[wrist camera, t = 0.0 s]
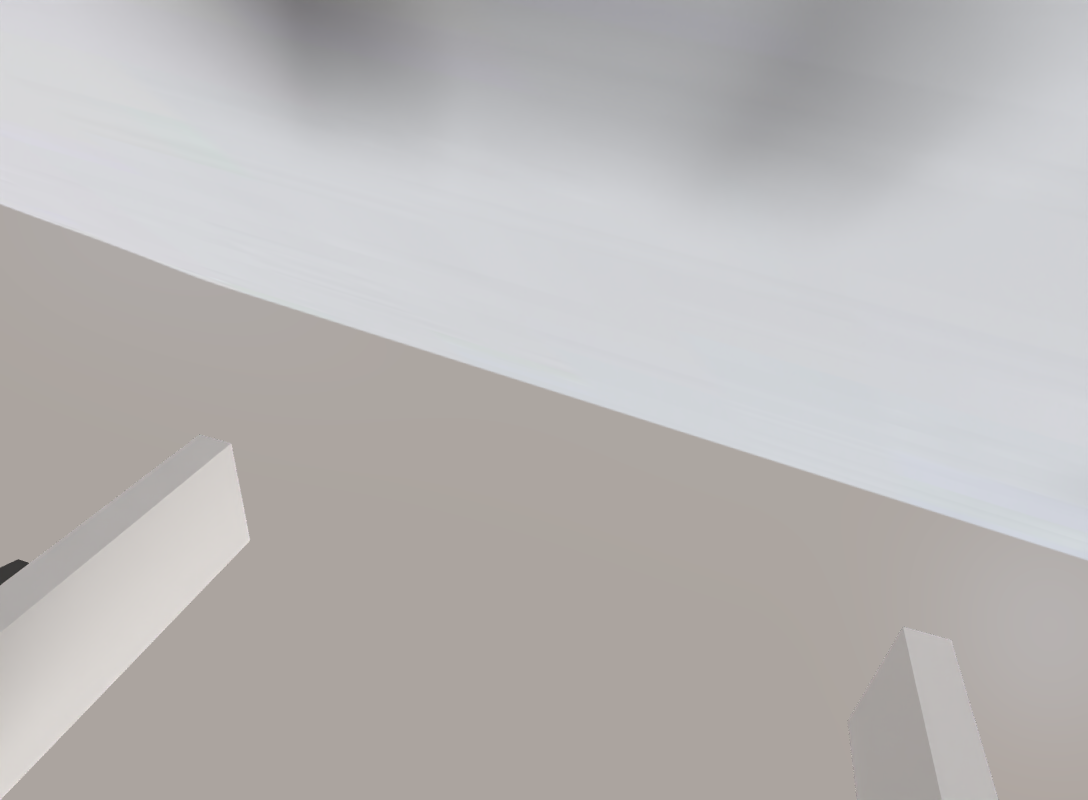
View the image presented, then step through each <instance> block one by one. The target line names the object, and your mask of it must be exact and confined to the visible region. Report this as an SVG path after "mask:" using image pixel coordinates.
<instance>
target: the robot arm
mask: <svg viewBox="0 0 1088 800" xmlns="http://www.w3.org/2000/svg"><path fill="white" fill-rule="evenodd" d="M249 541H250V537H249V533H248V527H247V522H246V517H245V511H244V506H243V501H242V496H241V491H240V486H239V481H238V475H237V470H236V466H235V460H234V455H233V450H232V445H231V443H229V442H225V441H221V440H218V439H214V438H210V437H207V436H203V435H198V436H197V437H195V438H194V439H193V440H191V441H190V442H189V443H187V444H186V445H185V446H183V447H182V448H181V449H180V450H178V451H177V452H176V453H174V454H173V455H172V456H170V457H169V458H168V459H166V460H165V461H164V462H162V463H161V464H160V465H158V466H157V467H156V468H154V469H153V470H152V471H150V472H149V473H148V474H147V475H145V476H144V477H143V478H141V479H140V480H139V481H137V482H136V483H135V484H133V485H132V486H131V487H129V488H128V489H127V490H125V491H124V492H123V493H121V494H120V495H119V496H117V497H116V498H115V499H114V500H112V501H111V502H110V503H108V504H107V505H106V506H104V507H103V508H102V509H100V510H99V511H98V512H96V513H95V514H94V515H92V516H91V517H90V518H88V519H87V520H86V521H85V522H83V523H82V524H81V525H80V526H78V527H77V528H75V529H74V530H73V531H71V532H70V533H69V534H67V535H66V536H65V537H63V538H62V539H61V540H60V541H58V542H57V543H56V544H54V545H53V546H52V547H50V548H49V549H48V550H46V551H45V552H44V553H42V554H41V555H40V556H38V557H37V558H36V559H35V560H33V561H32V562H30V563H27V562H24V561H21V560H16V561H14V562H11V563H9V564H7V565H5V566H3V567H1V568H0V799H2V798H3V796H5V795H6V794H7V792H8V791H9V790H10V789H11V788H12V787H13V786H14V785H15V784H16V783H17V782H18V781H19V780H20V779H21V778H22V777H23V776H24V775H25V773H27V772H28V770H30V769H31V768H32V767H33V765H34V764H35V763H36V762H37V761H38V760H39V759H40V758H41V757H42V756H43V755H44V754H45V753H46V752H47V751H48V750H49V749H50V748H51V747H52V746H53V745H54V744H55V743H56V742H57V740H58V739H59V738H60V737H61V736H62V735H63V734H64V733H65V732H66V731H67V730H68V729H69V728H70V727H71V726H72V725H73V724H74V723H75V722H76V721H77V720H78V718H80V717H81V716H82V714H84V712H85V711H86V710H87V709H88V708H89V707H90V706H91V705H92V704H93V703H94V702H95V701H96V700H97V699H98V698H99V697H100V696H101V695H102V694H103V693H104V692H105V691H106V690H107V689H108V688H109V686H110V685H111V684H112V683H113V682H114V681H115V680H116V679H117V678H118V677H119V676H120V675H121V674H122V673H123V672H124V671H125V670H126V669H127V668H128V667H129V666H130V665H131V664H132V662H134V660H135V659H136V658H137V657H138V656H139V655H140V654H141V653H142V652H143V651H144V650H145V649H146V648H147V647H148V646H149V645H150V644H151V643H152V642H153V641H154V640H155V639H156V638H157V637H158V635H160V633H161V632H162V631H163V630H164V629H165V628H166V627H167V626H168V625H169V624H170V623H171V622H172V621H173V620H174V619H175V618H176V617H177V616H178V615H179V614H180V613H181V612H182V611H183V609H185V608H186V606H187V605H188V604H189V603H190V602H191V601H192V600H193V599H194V598H195V597H196V596H197V595H198V594H199V593H200V592H201V591H202V590H203V589H204V588H205V587H206V586H207V585H208V584H209V583H210V581H211V580H212V579H213V578H214V577H215V576H216V575H217V574H218V573H219V572H220V571H221V570H222V569H223V568H224V567H225V566H226V565H227V564H228V563H229V562H230V561H231V560H232V559H233V558H234V557H235V556H236V555H237V553H238V552H239V551H240V550H241V549H242V548H243V547H244V546H245V545H246V544H247V543H248V542H249ZM848 728H849V735H850V745H851V753H852V762H853V770H854V779H855V787H856V796H857V800H999V799H998V796H997V793H996V789H995V786H994V783H993V779H992V776H991V772H990V769H989V766H988V762H987V759H986V756H985V752H984V749H983V746H982V742H981V739H980V735H979V732H978V729H977V725H976V722H975V718H974V715H973V712H972V709H971V705H970V702H969V699H968V695H967V692H966V688H965V685H964V681H963V678H962V675H961V671H960V668H959V664H958V661H957V658H956V654H955V651H954V648H953V644H952V641H951V639H947V638H943V637H940V636H936V635H932V634H929V633H925V632H921V631H918V630H914V629H910V628H907V627H902V629H901V631H900V632H899V634H898V636H897V637H896V639H895V641H894V643H893V644H892V646H891V648H890V649H889V651H888V653H887V654H886V656H885V658H884V660H883V661H882V663H881V665H880V666H879V668H878V670H877V672H876V673H875V675H874V677H873V678H872V680H871V682H870V684H869V685H868V687H867V689H866V691H865V692H864V694H863V696H862V697H861V699H860V701H859V702H858V704H857V706H856V708H855V709H854V711H853V713H852V714H851V716H850V718H849V719H848Z"/></svg>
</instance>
